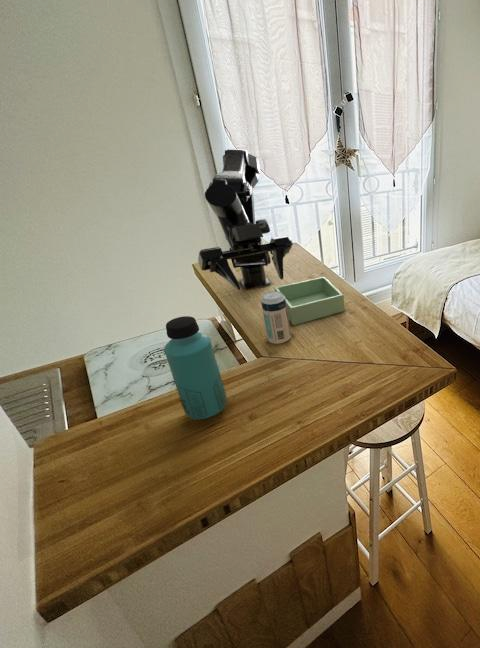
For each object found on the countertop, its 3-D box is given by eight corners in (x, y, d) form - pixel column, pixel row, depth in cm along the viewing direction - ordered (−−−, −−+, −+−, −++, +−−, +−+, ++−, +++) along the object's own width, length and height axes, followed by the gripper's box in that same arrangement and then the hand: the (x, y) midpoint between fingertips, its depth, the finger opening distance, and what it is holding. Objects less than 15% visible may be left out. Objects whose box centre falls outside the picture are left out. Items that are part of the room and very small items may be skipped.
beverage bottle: (238, 407, 74) (215, 316, 65) (203, 432, 68) (174, 336, 60) (212, 396, 76) (187, 306, 67) (176, 420, 70) (143, 325, 61)
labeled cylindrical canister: (295, 335, 96) (288, 291, 91) (283, 346, 91) (276, 301, 86) (276, 332, 96) (268, 288, 91) (263, 343, 92) (255, 298, 87)
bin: (276, 303, 108) (274, 287, 106) (325, 291, 116) (324, 276, 114) (293, 325, 99) (290, 308, 97) (344, 310, 108) (343, 294, 106)
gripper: (189, 214, 81) (217, 281, 80) (284, 203, 94) (310, 260, 93) (188, 238, 89) (213, 300, 88) (275, 225, 102) (299, 278, 100)
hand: (261, 284), depth 92 cm, fingers open, 9 cm apart
